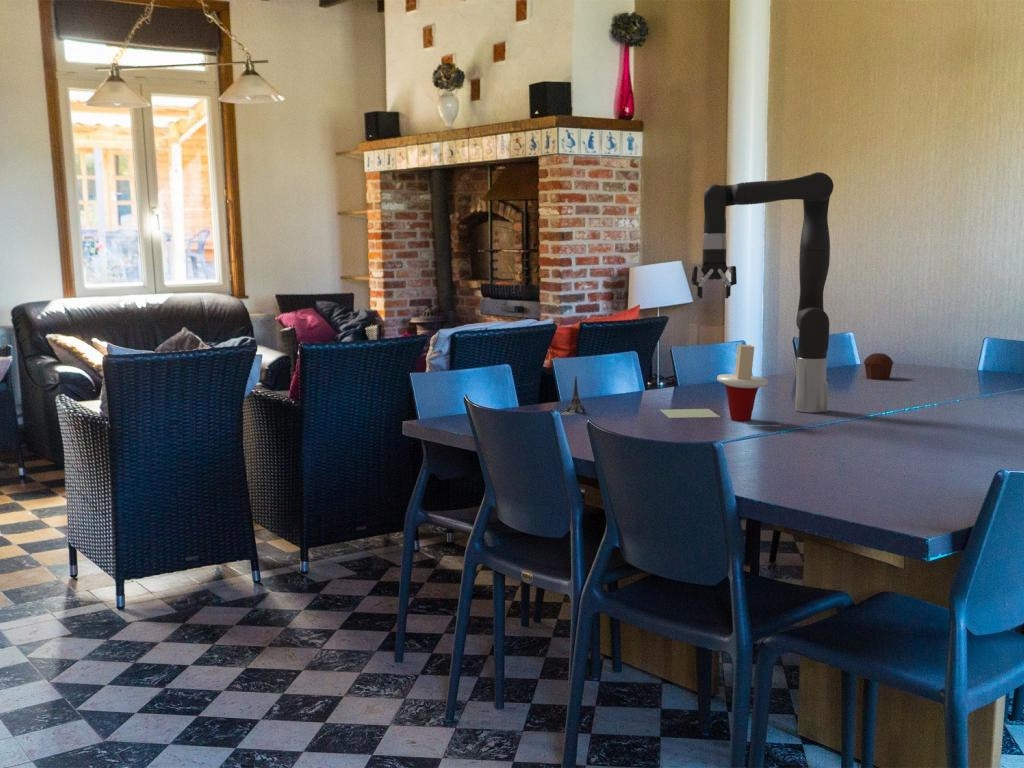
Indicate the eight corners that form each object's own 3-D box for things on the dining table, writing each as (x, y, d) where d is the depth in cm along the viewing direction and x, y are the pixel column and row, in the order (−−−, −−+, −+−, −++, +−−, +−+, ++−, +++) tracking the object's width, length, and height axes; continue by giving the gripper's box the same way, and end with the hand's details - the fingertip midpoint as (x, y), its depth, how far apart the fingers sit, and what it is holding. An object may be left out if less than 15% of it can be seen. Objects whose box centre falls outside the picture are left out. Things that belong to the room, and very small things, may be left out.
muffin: (888, 381, 403) (889, 355, 401) (859, 379, 409) (860, 354, 407) (895, 377, 412) (896, 352, 411) (867, 376, 418) (868, 351, 417)
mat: (708, 410, 334) (708, 408, 334) (720, 418, 318) (720, 416, 318) (659, 411, 334) (659, 409, 333) (669, 419, 318) (669, 417, 318)
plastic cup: (755, 425, 305) (755, 385, 304) (719, 423, 310) (719, 383, 308) (763, 419, 315) (764, 381, 313) (728, 417, 320) (729, 379, 318)
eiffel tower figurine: (560, 409, 342) (560, 369, 340) (591, 410, 341) (591, 370, 339) (556, 417, 327) (556, 375, 326) (588, 417, 326) (588, 375, 324)
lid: (759, 379, 319) (763, 343, 317) (773, 388, 304) (778, 350, 302) (712, 376, 318) (715, 340, 316) (723, 385, 303) (727, 347, 301)
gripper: (695, 248, 327) (694, 299, 329) (739, 247, 328) (738, 298, 330) (690, 248, 335) (689, 298, 337) (733, 247, 335) (732, 297, 337)
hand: (713, 298), depth 333 cm, fingers open, 8 cm apart
